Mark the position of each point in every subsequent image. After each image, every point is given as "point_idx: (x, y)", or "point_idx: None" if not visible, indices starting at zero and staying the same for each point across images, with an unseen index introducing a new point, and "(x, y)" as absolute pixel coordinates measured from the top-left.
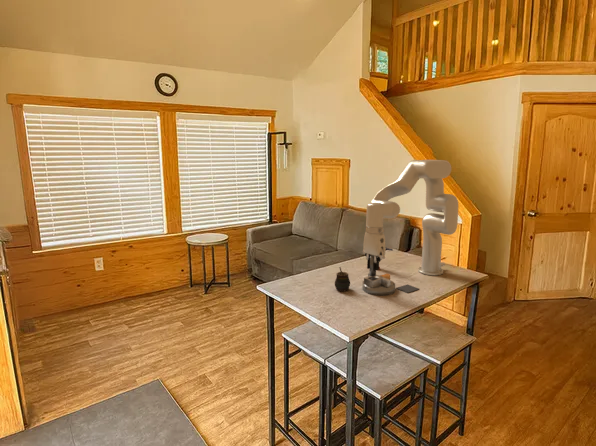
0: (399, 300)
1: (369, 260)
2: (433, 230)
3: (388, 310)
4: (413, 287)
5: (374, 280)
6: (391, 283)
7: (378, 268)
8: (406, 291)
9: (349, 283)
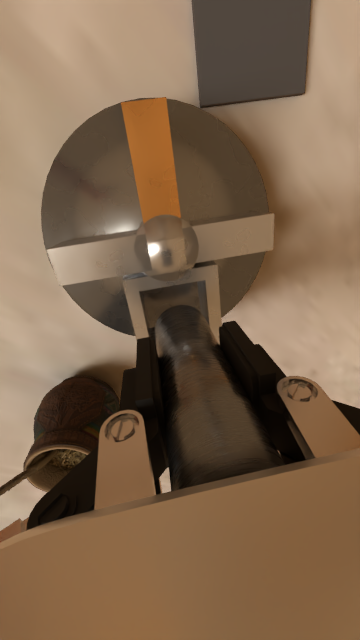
0: (328, 232)
1: (165, 449)
2: None
3: (352, 338)
4: None
5: (215, 326)
6: (205, 149)
7: (256, 345)
8: (288, 87)
9: (108, 402)
